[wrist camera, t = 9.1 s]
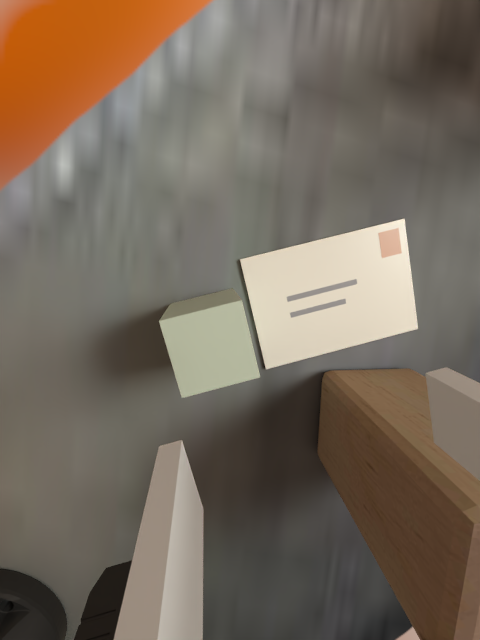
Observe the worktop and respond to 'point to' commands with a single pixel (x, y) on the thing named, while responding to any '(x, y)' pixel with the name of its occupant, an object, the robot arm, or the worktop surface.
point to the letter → (331, 293)
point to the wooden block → (405, 496)
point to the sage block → (209, 342)
